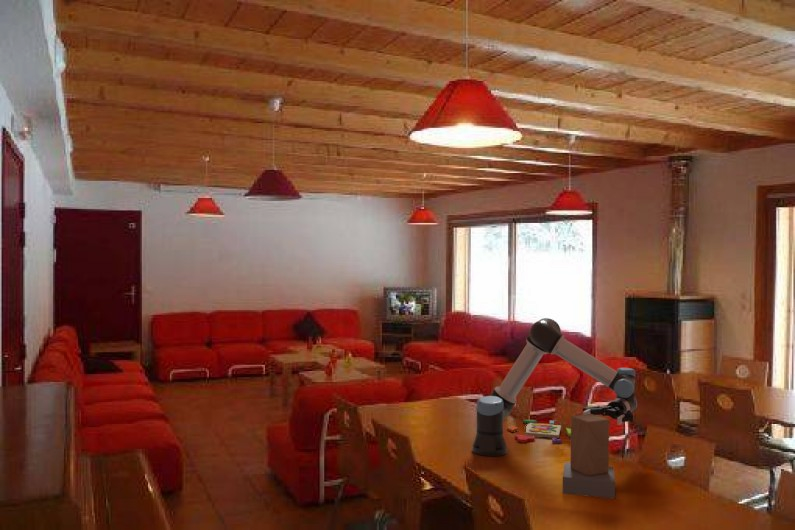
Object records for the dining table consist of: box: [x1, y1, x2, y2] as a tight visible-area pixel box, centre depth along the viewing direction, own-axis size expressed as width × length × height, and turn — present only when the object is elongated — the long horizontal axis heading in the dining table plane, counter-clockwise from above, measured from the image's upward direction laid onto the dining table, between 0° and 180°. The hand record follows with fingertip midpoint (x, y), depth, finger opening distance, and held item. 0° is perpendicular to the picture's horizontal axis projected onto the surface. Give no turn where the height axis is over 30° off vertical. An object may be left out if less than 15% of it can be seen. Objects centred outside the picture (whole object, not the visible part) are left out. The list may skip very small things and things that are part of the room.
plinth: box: [562, 461, 616, 499], centre depth 240 cm, size 18×18×6 cm
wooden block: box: [569, 414, 610, 476], centre depth 241 cm, size 10×10×20 cm
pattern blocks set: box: [506, 419, 571, 444], centre depth 317 cm, size 38×34×3 cm
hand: (600, 418), depth 251 cm, fingers open, 13 cm apart
